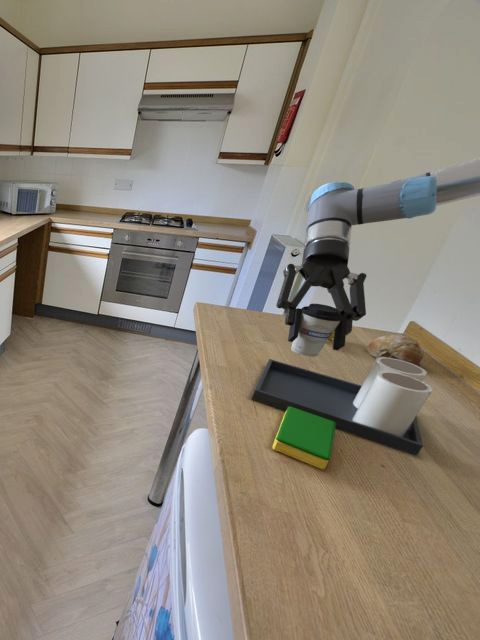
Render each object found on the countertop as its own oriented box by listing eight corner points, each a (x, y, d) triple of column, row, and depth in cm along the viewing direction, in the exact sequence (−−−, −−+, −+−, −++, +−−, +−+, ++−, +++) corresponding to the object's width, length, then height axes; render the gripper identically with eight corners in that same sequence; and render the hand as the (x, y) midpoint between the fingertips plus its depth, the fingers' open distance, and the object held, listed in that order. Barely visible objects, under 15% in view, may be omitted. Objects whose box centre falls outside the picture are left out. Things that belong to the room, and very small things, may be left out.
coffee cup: (284, 341, 91) (302, 299, 87) (323, 351, 87) (344, 307, 83) (284, 352, 86) (303, 308, 81) (325, 362, 82) (348, 317, 78)
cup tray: (407, 409, 83) (412, 400, 82) (416, 456, 69) (423, 446, 68) (266, 366, 97) (269, 358, 96) (251, 399, 84) (255, 389, 83)
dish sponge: (271, 449, 69) (276, 437, 68) (284, 415, 79) (288, 405, 78) (323, 470, 65) (330, 458, 64) (330, 432, 74) (336, 421, 73)
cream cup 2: (401, 427, 76) (430, 381, 71) (404, 445, 71) (435, 396, 67) (352, 412, 80) (376, 367, 76) (352, 427, 75) (378, 380, 71)
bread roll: (358, 366, 107) (371, 346, 102) (367, 341, 112) (380, 320, 106) (411, 381, 101) (427, 359, 96) (417, 353, 106) (434, 332, 100)
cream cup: (398, 409, 81) (425, 365, 77) (400, 425, 76) (429, 379, 72) (352, 396, 85) (375, 353, 81) (352, 409, 81) (376, 365, 76)
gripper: (373, 264, 88) (366, 361, 82) (266, 251, 96) (251, 339, 89) (396, 244, 82) (390, 348, 75) (279, 231, 89) (264, 325, 83)
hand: (315, 343), depth 82 cm, fingers closed on coffee cup, 7 cm apart
